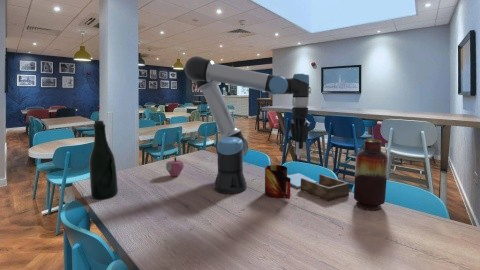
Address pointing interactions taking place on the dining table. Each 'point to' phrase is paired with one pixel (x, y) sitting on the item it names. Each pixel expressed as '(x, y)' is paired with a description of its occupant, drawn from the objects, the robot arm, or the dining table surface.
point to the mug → (277, 182)
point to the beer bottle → (102, 165)
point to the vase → (370, 176)
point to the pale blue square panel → (298, 180)
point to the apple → (174, 167)
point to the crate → (326, 188)
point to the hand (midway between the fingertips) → (298, 154)
